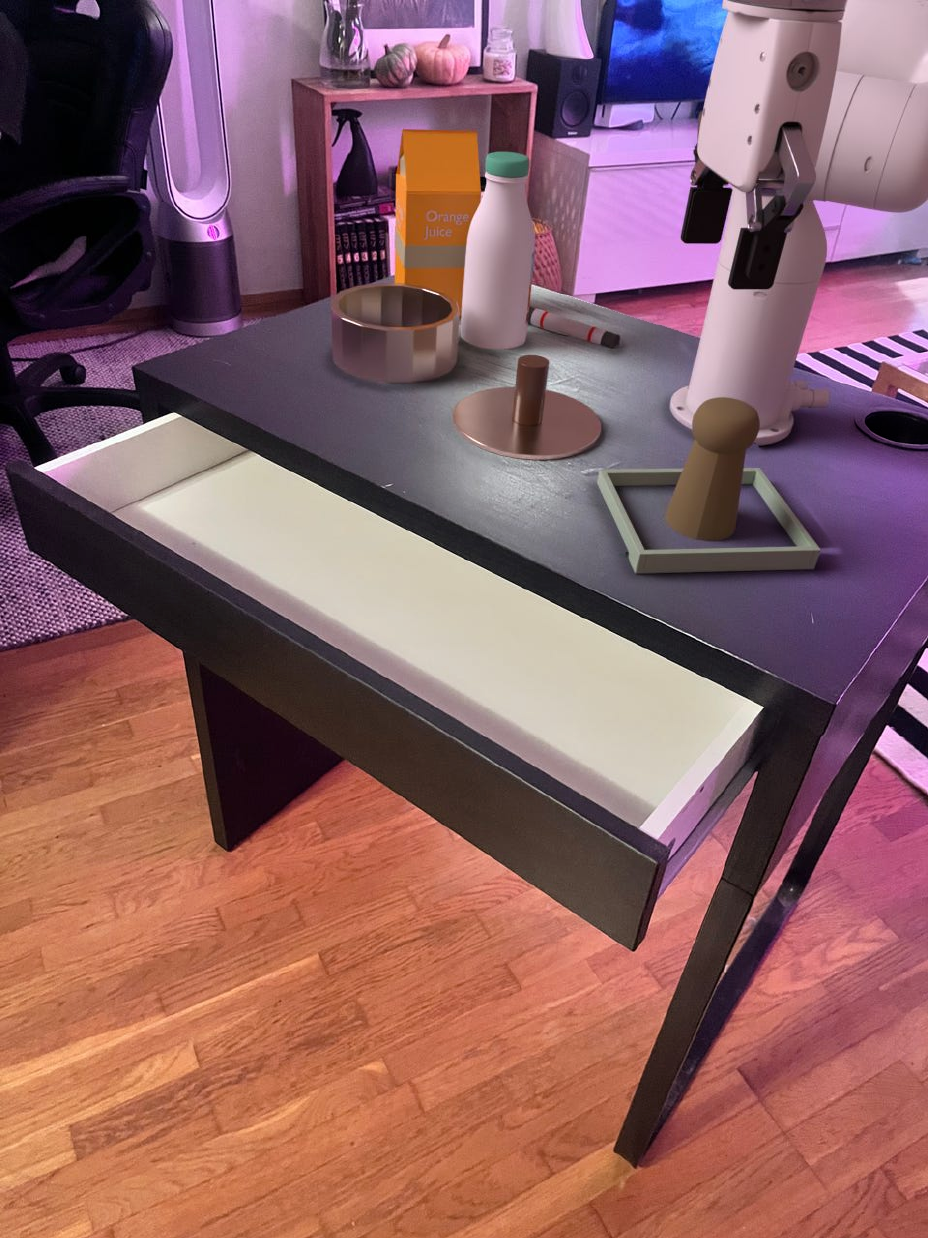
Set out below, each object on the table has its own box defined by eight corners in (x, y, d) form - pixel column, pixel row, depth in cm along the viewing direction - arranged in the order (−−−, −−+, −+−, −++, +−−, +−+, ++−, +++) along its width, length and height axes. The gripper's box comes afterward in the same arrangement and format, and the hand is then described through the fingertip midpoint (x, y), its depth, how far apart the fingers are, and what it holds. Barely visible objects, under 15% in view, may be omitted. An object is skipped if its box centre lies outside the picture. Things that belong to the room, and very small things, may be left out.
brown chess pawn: (682, 496, 82) (711, 381, 75) (746, 520, 79) (781, 403, 73) (652, 524, 78) (679, 405, 71) (717, 551, 76) (752, 430, 69)
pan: (448, 337, 108) (451, 283, 104) (462, 388, 98) (466, 330, 94) (331, 336, 106) (330, 281, 102) (333, 387, 96) (332, 328, 92)
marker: (618, 348, 109) (621, 332, 107) (610, 353, 107) (613, 336, 106) (512, 313, 115) (513, 298, 114) (503, 318, 114) (504, 302, 113)
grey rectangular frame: (754, 485, 85) (760, 467, 84) (814, 569, 75) (821, 550, 74) (596, 487, 83) (599, 469, 82) (635, 573, 73) (639, 554, 72)
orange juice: (473, 316, 114) (485, 138, 101) (403, 318, 112) (406, 136, 99) (460, 294, 120) (470, 123, 107) (393, 295, 118) (395, 121, 105)
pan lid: (581, 395, 98) (591, 331, 93) (616, 464, 87) (629, 395, 82) (444, 395, 96) (448, 329, 91) (462, 466, 85) (467, 394, 80)
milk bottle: (520, 357, 105) (539, 168, 92) (454, 348, 106) (464, 159, 93) (529, 333, 111) (549, 151, 98) (467, 324, 112) (478, 143, 99)
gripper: (916, 6, 51) (822, 307, 62) (784, -26, 64) (726, 227, 75) (791, 0, 50) (718, 308, 61) (683, -32, 63) (639, 227, 74)
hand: (723, 263), depth 68 cm, fingers open, 9 cm apart
